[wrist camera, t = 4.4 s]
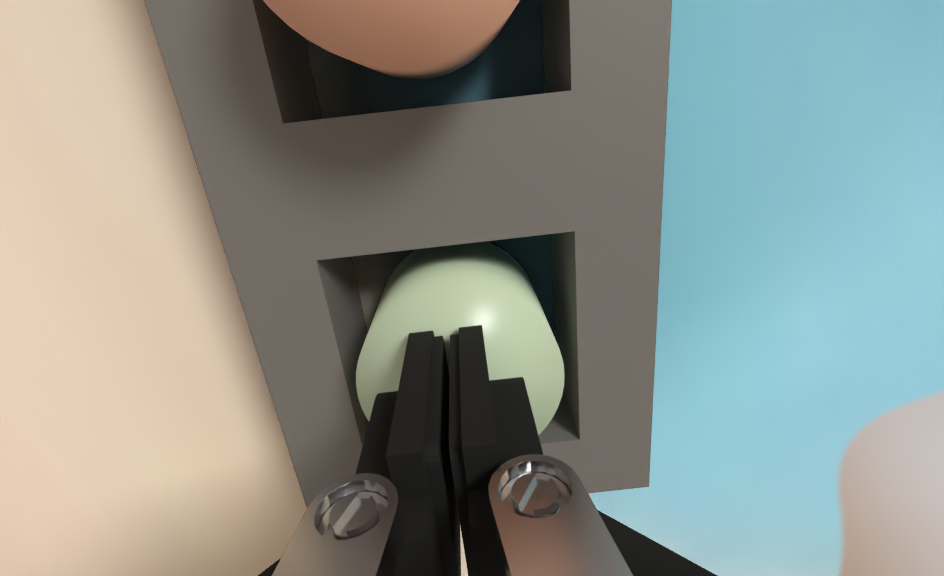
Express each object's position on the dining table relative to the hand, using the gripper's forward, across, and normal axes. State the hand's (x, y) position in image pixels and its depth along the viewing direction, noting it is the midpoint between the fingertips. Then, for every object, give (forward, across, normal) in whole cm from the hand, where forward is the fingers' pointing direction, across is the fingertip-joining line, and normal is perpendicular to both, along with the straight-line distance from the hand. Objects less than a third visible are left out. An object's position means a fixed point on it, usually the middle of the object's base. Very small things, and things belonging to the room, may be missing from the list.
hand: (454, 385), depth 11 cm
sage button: (+4, 0, 0) cm, 4 cm away
